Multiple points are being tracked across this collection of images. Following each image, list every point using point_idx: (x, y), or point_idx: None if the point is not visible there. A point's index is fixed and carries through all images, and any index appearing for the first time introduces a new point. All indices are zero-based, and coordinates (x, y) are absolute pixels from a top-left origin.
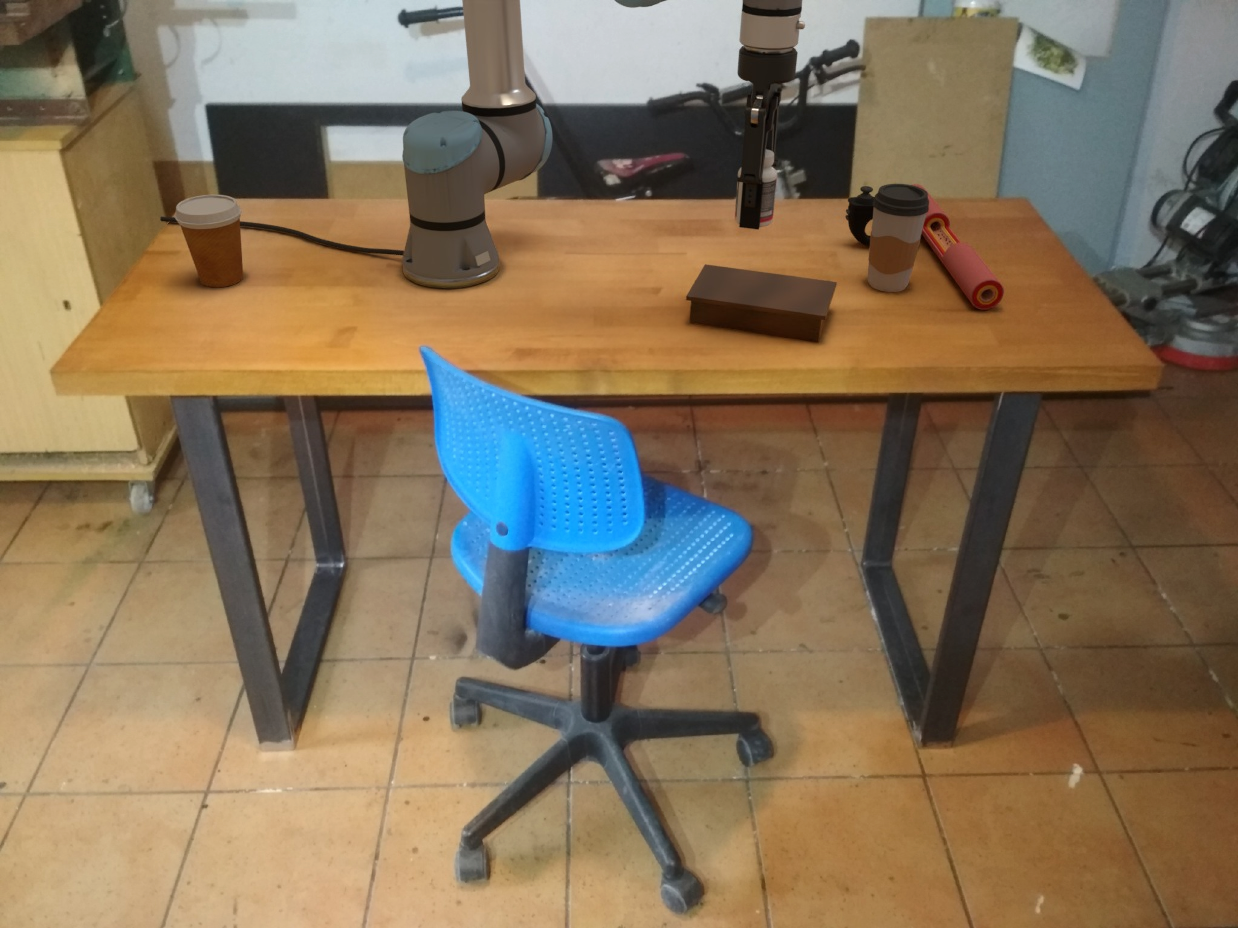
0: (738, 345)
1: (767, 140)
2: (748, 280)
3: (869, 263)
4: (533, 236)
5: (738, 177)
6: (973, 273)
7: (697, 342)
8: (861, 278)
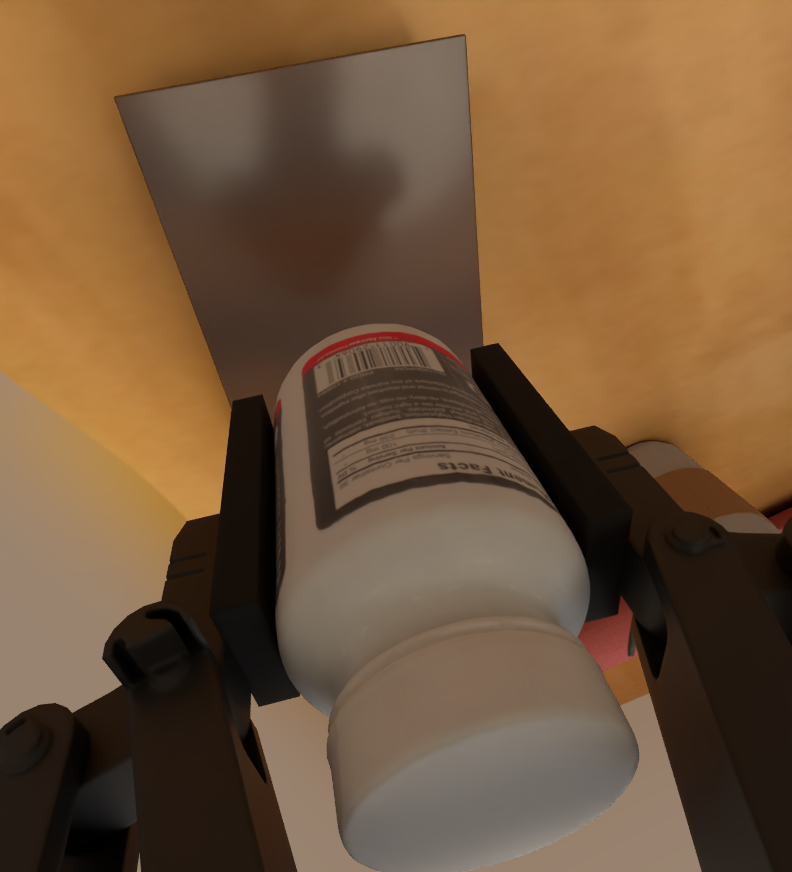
0: (133, 317)
1: (718, 869)
2: (390, 269)
3: (657, 474)
4: None
5: (110, 664)
6: (625, 639)
7: (53, 196)
8: (660, 422)
